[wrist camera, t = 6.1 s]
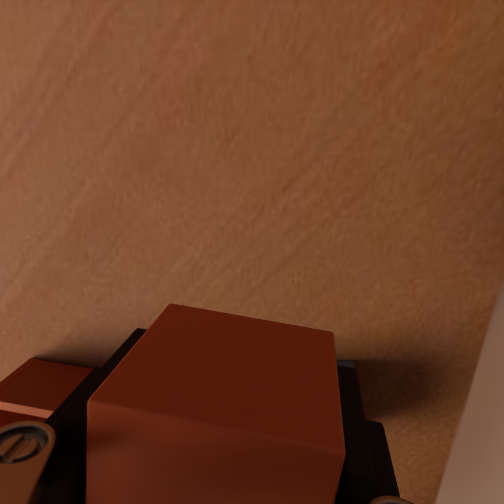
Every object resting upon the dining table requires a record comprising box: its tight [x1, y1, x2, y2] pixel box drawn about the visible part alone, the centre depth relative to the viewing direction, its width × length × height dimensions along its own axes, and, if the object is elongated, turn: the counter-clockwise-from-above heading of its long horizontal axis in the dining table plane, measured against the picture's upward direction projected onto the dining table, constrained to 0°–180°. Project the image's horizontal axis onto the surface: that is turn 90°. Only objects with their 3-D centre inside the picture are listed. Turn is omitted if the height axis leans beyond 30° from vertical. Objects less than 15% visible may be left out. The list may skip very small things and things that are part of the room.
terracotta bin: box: [0, 358, 93, 427], centre depth 27 cm, size 12×12×4 cm
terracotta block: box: [85, 304, 346, 504], centre depth 10 cm, size 4×4×4 cm
